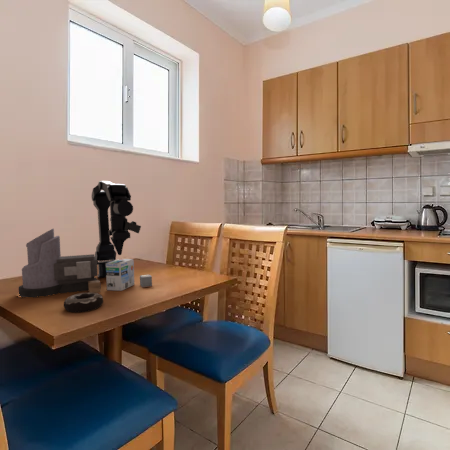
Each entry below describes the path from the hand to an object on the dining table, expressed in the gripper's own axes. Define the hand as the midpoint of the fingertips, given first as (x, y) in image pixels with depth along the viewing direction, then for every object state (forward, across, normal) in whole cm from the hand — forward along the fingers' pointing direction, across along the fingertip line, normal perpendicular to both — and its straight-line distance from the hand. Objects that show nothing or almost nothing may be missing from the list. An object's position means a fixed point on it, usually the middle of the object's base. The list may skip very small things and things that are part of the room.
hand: (119, 254), depth 127 cm
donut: (+14, -21, +14) cm, 29 cm away
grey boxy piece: (+13, +8, +22) cm, 27 cm away
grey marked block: (+13, -2, -10) cm, 16 cm away
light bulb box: (+13, 0, 0) cm, 13 cm away
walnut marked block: (+13, -2, +10) cm, 17 cm away
